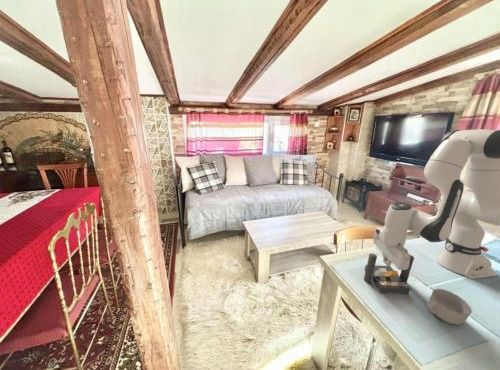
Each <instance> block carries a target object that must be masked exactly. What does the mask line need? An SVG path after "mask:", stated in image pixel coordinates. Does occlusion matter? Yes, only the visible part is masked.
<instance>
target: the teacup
mask: <svg viewBox="0 0 500 370" xmlns="http://www.w3.org/2000/svg"><path fill="white" fill-rule="evenodd" d="M426 308H427V309H428V311H430V312H431V313H432V314H433V315H435V316H436V317H437V318H438V319H440V320H442V321H443V322H445V323H448V324H452V325H462V324H464V323H465V322H466V321H467V319H469V316H470V315H471V314H472V312H473V310H472V307H471V305H470V304H469V303H468V302H467V301H466V300H465V299H464V298H462V297H461V296H459V295H458V294H456V293H454V292H452V291H450V290H447V289H443V288H435V289H432V292H431V295H430V297H429V300H428V302H427V304H426Z"/></svg>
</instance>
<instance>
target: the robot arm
mask: <svg viewBox="0 0 500 370" xmlns="http://www.w3.org/2000/svg"><path fill="white" fill-rule="evenodd" d="M464 167H465V173H464V180H463V182H464V183H463V182H462V181H461V174H462V171H463V169H464ZM423 176H424V178H425V180H427V181H428V182H429V183H430V184H431V185H432V186H434V187H435V188H437V189H438V190H439V191H440V193H441V195H442V196H441V201H440V203H439V205H438V209H437V212H436V214H435V215H432V214H429V213H427V212H425V211H423V210H419V209H417V208H415V207H413V206H412V205H411V204H410V203H407V202H401V201H399V202H398V201H397V202H393V203H391V204H390V205H389V207H388V209H387V211H386V215H385V218H384V226H383V227H375V229H374V232H375V233H374V235H373V244H374V246H376V247H377V249H379V251H380V252H382V259H383V260H382V262H383V264H385V266H391V265H394V266H395V267H396V269H398V270H399V271H401V270H407V269H408V268H409V263H410V255H411V254H410V253H409V251H408V249H407V248H405V247H404V246H405V244H406V240H407V236H408V231H410V232H412V233H414V234H416V235H418V236H420V237H421V238H422V239H424V240H425V241H428V242H429V243H441V242H445V243H444V244H443V247H442V248H441V250H440V251H439V252H438V254H437V257H436V262H437V263H438V264H439V265H441V267H443V268H445V269H447V270H449V271H451V272H453V273H456V274H459V275H461V276H462V275H463V276H465V277H467V278H469V279H473V280H474V279H483V278H489V277H490V278H491V277H492V278H493V277H496V276H497V273H496V271H495V270H494V269H493V268H492V261H491V260H490V259H489V258H488V257H487V256H486V255H484V254H483V253H482V252H484V253H487V252H488V251H489V248H488V247H485V246H484V245H483V246H482V242H483V240H484V237H485V235H486V232H485V229H484V228H483V227H482V226H481V224H479V222H478V221H480V222H483V223H485V224H490V225H494V226H497V227H500V129H497V130H496V129H485V128H484V129H483V128H477V129H456V130H455V129H454V130H450V131H448V132H446V133H445V134H444V135H443V136H442V137H441V139H440V141H439V146H437V148H436V149H435V150H434V151H433V153H432V154H431V155H430V158H429V159H428V161H427V162H426V164H425V167H424V169H423ZM464 185H465V186H466V187H467V188H468V189H470V191H469V190H468V191H467V190H464Z"/></svg>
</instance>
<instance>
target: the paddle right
mask: <svg viewBox="0 0 500 370" xmlns="http://www.w3.org/2000/svg"><path fill="white" fill-rule="evenodd" d="M386 272H387V271H386V268H379V269H378V270H377V271H376V272H374V276H377V277H381V276H382V275H384V274H385V273H386Z"/></svg>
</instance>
